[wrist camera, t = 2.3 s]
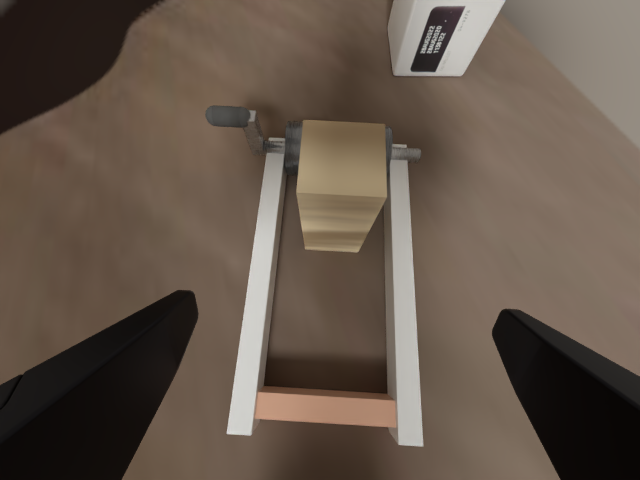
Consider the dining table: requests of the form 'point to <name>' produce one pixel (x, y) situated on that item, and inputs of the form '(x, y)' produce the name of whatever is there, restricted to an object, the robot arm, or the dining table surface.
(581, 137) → the dining table surface
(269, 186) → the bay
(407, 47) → the container
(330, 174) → the tan wooden block
